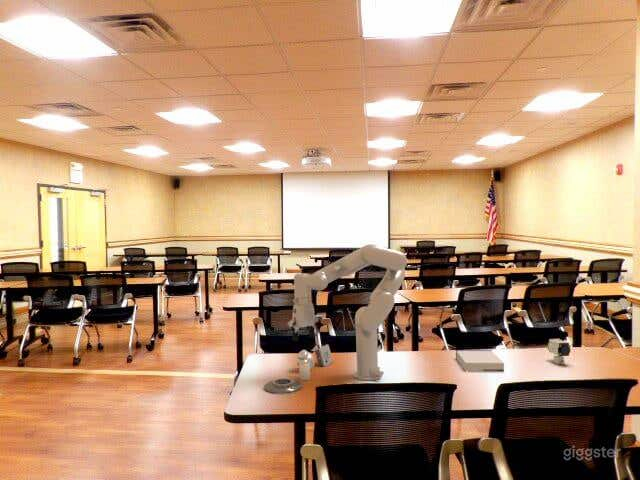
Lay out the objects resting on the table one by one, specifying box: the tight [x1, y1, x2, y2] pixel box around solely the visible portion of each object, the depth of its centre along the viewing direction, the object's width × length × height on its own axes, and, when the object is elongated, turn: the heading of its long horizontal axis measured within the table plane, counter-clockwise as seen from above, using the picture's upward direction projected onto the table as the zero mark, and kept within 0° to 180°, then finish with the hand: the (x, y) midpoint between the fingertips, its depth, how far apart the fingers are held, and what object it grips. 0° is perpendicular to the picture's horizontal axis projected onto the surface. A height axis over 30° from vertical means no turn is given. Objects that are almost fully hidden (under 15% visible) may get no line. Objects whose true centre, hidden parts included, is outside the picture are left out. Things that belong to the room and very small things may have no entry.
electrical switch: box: [314, 344, 334, 368], centre depth 237 cm, size 9×5×9 cm, turn 152°
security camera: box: [547, 337, 571, 365], centre depth 228 cm, size 6×12×12 cm, turn 6°
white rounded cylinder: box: [298, 362, 311, 381], centre depth 214 cm, size 5×5×8 cm
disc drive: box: [455, 349, 505, 373], centre depth 229 cm, size 18×22×5 cm
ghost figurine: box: [296, 349, 316, 370], centre depth 227 cm, size 9×10×10 cm
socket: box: [263, 378, 303, 394], centre depth 203 cm, size 16×16×2 cm
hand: (303, 338), depth 214 cm, fingers open, 9 cm apart
